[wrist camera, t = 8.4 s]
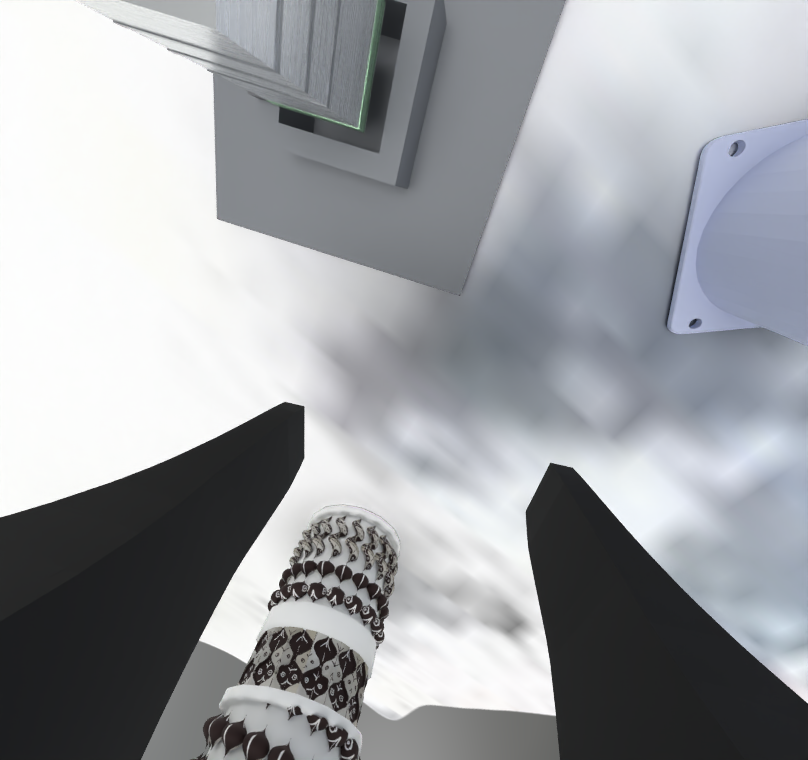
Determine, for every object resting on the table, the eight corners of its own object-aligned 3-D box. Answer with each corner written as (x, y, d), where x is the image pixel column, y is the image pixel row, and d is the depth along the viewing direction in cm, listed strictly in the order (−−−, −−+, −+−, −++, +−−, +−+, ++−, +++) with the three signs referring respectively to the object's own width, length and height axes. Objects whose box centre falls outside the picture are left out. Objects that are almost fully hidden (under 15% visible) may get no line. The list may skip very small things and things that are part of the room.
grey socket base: (595, -88, 11) (669, -258, 7) (460, 291, 17) (458, 317, 13) (225, -194, 11) (89, -420, 7) (229, 218, 18) (159, 222, 14)
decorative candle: (417, 521, 26) (185, 1984, 5) (392, 581, 31) (217, 1460, 9) (310, 487, 27) (-374, 1721, 5) (301, 552, 31) (-75, 1339, 10)
